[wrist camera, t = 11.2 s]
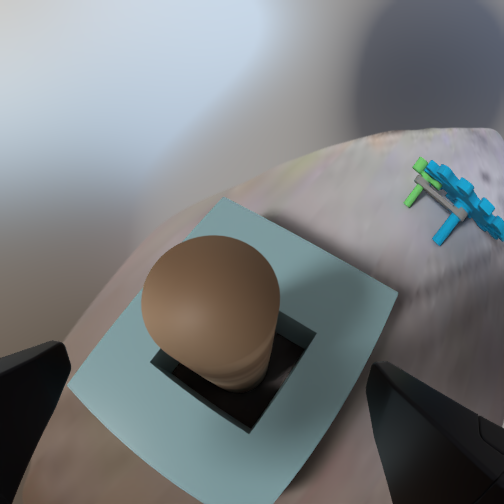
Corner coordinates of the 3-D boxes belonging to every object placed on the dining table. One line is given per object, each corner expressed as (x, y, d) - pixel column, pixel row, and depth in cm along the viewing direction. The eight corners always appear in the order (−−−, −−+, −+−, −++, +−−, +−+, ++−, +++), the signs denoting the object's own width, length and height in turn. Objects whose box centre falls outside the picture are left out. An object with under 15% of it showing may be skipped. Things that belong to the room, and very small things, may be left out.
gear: (506, 237, 22) (520, 217, 15) (472, 281, 24) (473, 280, 17) (432, 171, 28) (413, 131, 21) (402, 212, 30) (373, 186, 23)
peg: (253, 402, 18) (243, 391, 7) (198, 377, 19) (117, 325, 8) (277, 349, 20) (300, 262, 9) (223, 326, 21) (183, 219, 10)
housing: (251, 505, 14) (250, 529, 10) (100, 393, 18) (66, 385, 14) (374, 316, 21) (398, 292, 17) (228, 232, 24) (223, 196, 20)
